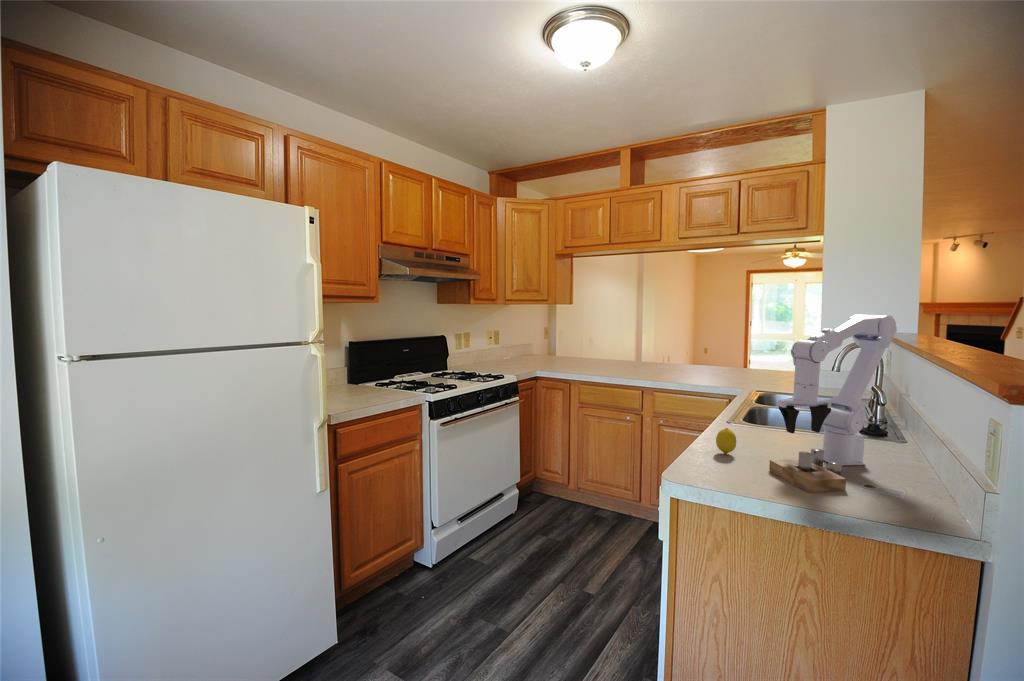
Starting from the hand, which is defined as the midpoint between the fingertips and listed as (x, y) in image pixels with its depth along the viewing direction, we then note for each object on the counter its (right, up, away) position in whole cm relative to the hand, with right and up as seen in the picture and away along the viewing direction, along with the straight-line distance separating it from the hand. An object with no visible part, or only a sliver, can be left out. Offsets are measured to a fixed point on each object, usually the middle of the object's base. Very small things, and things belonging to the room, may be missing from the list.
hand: (802, 432), depth 128 cm
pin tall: (-5, -11, -8) cm, 14 cm away
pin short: (+5, -11, -5) cm, 13 cm away
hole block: (-5, -11, -9) cm, 15 cm away
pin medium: (+4, -10, 0) cm, 11 cm away
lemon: (-16, -9, +11) cm, 22 cm away
